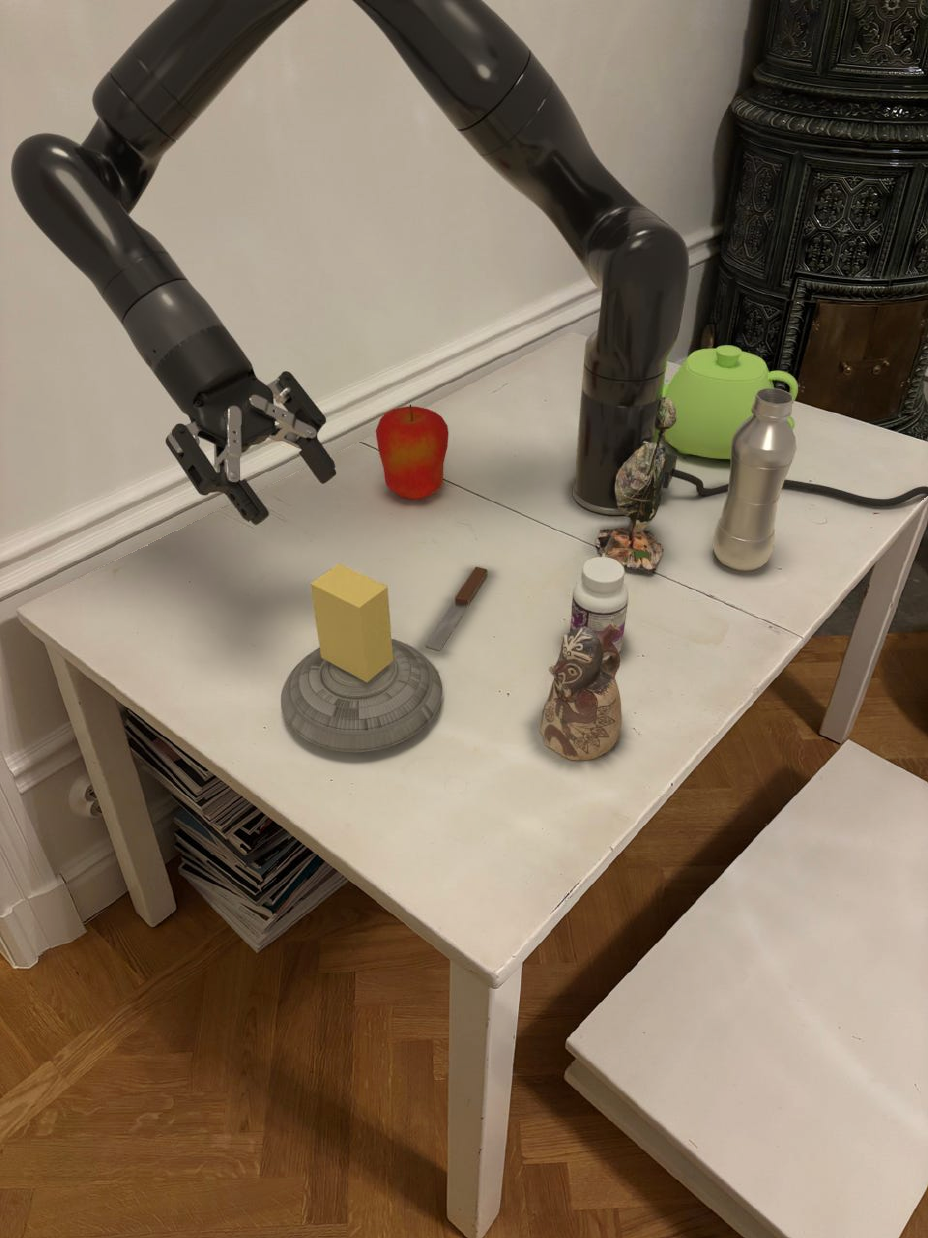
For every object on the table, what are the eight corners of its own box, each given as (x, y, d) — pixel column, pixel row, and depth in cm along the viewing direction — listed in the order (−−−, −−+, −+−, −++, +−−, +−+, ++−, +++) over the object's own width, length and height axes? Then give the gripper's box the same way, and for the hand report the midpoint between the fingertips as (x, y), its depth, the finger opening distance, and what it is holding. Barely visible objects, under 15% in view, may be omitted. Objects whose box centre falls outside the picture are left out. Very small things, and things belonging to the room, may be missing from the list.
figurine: (531, 710, 88) (536, 610, 80) (603, 698, 89) (615, 598, 81) (554, 767, 82) (562, 665, 75) (630, 753, 83) (646, 652, 76)
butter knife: (474, 572, 104) (474, 565, 104) (488, 575, 104) (488, 569, 103) (425, 647, 95) (425, 640, 94) (440, 650, 94) (439, 644, 94)
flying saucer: (381, 787, 81) (376, 744, 77) (249, 722, 87) (239, 678, 83) (472, 684, 90) (472, 641, 87) (348, 632, 97) (343, 590, 93)
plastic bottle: (736, 584, 102) (773, 417, 89) (697, 552, 107) (726, 389, 94) (781, 568, 104) (824, 402, 92) (741, 537, 109) (776, 376, 96)
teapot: (613, 456, 124) (623, 362, 116) (631, 405, 135) (641, 316, 127) (786, 480, 119) (809, 383, 110) (790, 425, 130) (811, 334, 122)
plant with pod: (676, 529, 111) (702, 369, 98) (652, 583, 102) (678, 416, 90) (609, 514, 113) (626, 357, 100) (581, 566, 105) (596, 401, 92)
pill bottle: (564, 629, 97) (570, 553, 90) (615, 626, 97) (625, 550, 91) (573, 665, 92) (580, 587, 86) (627, 661, 93) (637, 584, 87)
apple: (371, 504, 115) (363, 416, 108) (393, 470, 121) (387, 385, 114) (438, 514, 113) (435, 425, 106) (457, 479, 120) (455, 393, 112)
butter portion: (347, 637, 88) (339, 563, 82) (393, 660, 85) (387, 586, 79) (320, 657, 85) (310, 583, 80) (366, 683, 83) (359, 607, 77)
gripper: (134, 354, 76) (255, 519, 78) (263, 299, 84) (369, 449, 86) (110, 397, 82) (223, 550, 83) (233, 342, 90) (333, 481, 92)
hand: (297, 499), depth 85 cm, fingers open, 8 cm apart
